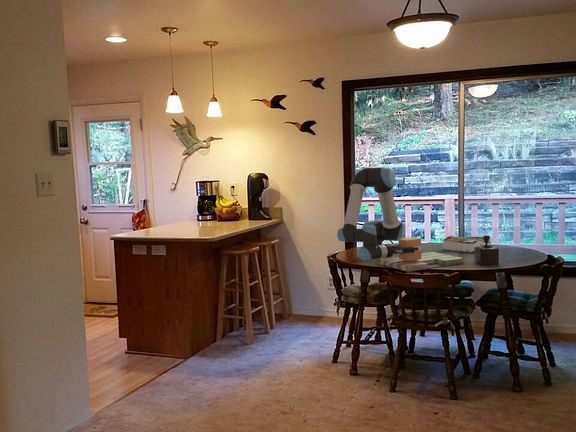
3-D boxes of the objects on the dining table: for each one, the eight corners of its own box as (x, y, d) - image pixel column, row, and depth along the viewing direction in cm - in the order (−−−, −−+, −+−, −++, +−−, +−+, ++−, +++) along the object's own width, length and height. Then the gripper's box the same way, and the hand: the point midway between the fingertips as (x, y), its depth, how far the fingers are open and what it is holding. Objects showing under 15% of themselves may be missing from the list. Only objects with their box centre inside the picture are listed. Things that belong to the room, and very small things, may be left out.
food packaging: (438, 239, 370) (453, 235, 387) (438, 250, 371) (453, 245, 388) (475, 242, 354) (488, 237, 371) (475, 253, 355) (488, 248, 372)
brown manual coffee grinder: (472, 262, 326) (472, 232, 324) (490, 261, 327) (490, 230, 325) (484, 267, 311) (484, 235, 309) (503, 266, 312) (503, 234, 310)
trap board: (378, 264, 333) (378, 259, 333) (431, 256, 350) (431, 251, 350) (408, 271, 308) (408, 266, 307) (463, 263, 325) (463, 258, 325)
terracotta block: (398, 259, 325) (398, 238, 324) (412, 257, 329) (412, 237, 328) (407, 261, 318) (407, 240, 317) (421, 259, 322) (421, 238, 321)
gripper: (374, 255, 325) (405, 251, 335) (395, 260, 306) (428, 255, 316) (373, 242, 324) (405, 238, 334) (395, 247, 306) (428, 242, 315)
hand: (416, 247), depth 325 cm, fingers closed on terracotta block, 8 cm apart
